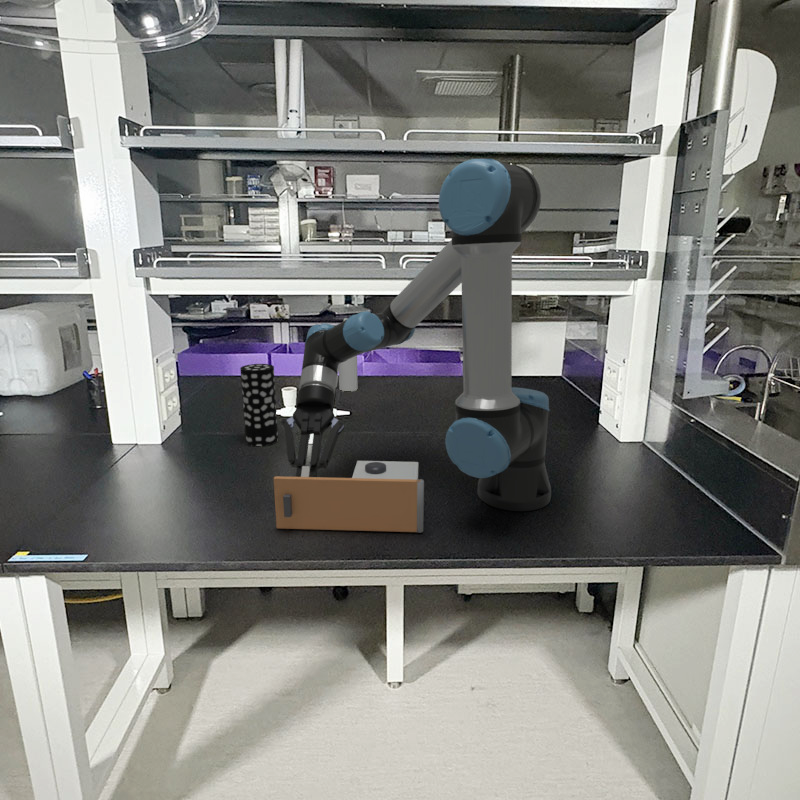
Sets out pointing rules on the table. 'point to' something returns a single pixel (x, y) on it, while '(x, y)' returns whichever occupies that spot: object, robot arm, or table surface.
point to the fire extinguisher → (348, 374)
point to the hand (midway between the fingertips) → (303, 500)
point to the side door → (349, 504)
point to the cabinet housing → (386, 470)
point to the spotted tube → (259, 404)
